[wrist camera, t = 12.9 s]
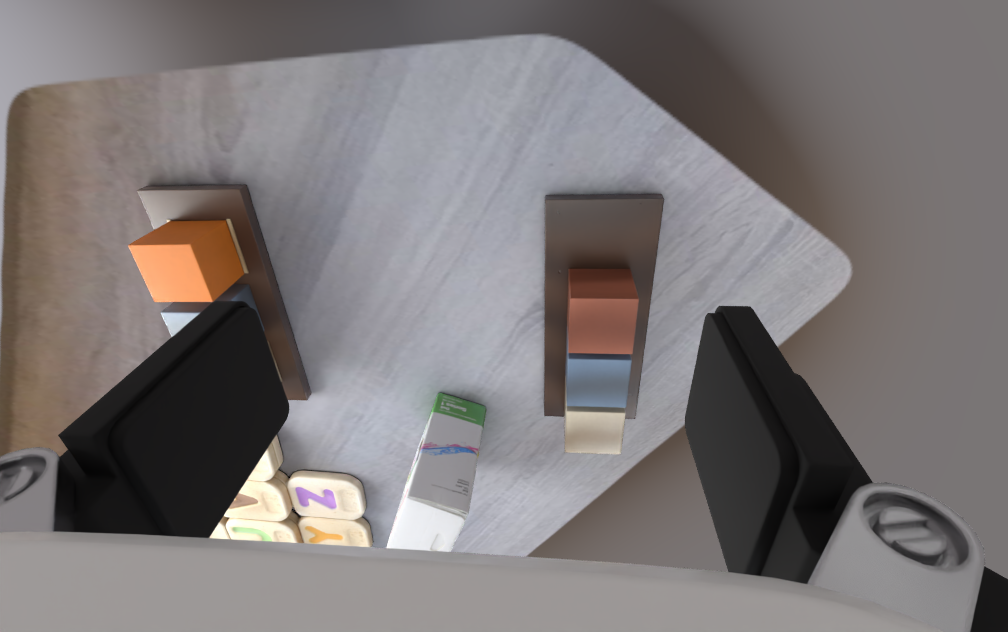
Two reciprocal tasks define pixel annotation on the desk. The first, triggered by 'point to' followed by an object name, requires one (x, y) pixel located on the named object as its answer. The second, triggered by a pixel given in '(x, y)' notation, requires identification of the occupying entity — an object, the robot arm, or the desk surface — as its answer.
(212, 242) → the orange cube
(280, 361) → the tray of colored blocks
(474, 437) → the ink box
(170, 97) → the desk surface
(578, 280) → the colored cube rack
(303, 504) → the alphabet tiles
